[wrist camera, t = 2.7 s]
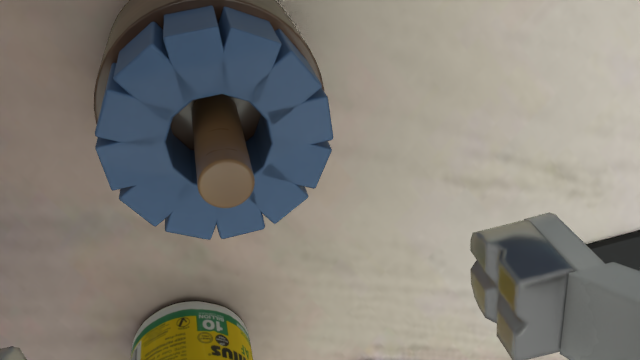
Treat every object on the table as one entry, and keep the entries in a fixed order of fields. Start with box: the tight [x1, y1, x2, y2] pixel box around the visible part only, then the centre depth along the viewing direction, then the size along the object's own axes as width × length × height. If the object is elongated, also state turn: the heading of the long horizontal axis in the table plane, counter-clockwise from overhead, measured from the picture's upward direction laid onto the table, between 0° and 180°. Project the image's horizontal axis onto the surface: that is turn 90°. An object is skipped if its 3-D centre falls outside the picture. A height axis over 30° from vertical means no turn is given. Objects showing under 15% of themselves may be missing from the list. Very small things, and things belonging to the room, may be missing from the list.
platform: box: [94, 0, 324, 208], centre depth 18 cm, size 7×7×8 cm
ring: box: [95, 6, 333, 240], centre depth 17 cm, size 6×6×2 cm
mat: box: [587, 231, 640, 271], centre depth 32 cm, size 7×7×1 cm
